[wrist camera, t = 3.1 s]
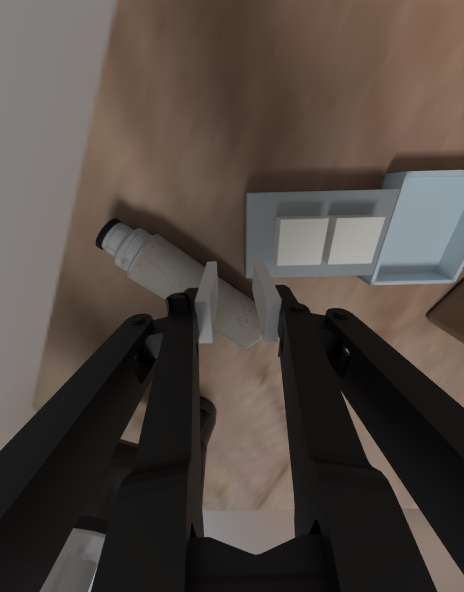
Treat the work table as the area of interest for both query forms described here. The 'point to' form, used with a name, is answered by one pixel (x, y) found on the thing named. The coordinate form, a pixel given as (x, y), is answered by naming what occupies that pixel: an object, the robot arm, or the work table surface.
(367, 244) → the tile
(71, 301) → the work table surface
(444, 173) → the tray
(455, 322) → the wooden block
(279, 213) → the board
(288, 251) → the tile
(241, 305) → the thermos bottle
